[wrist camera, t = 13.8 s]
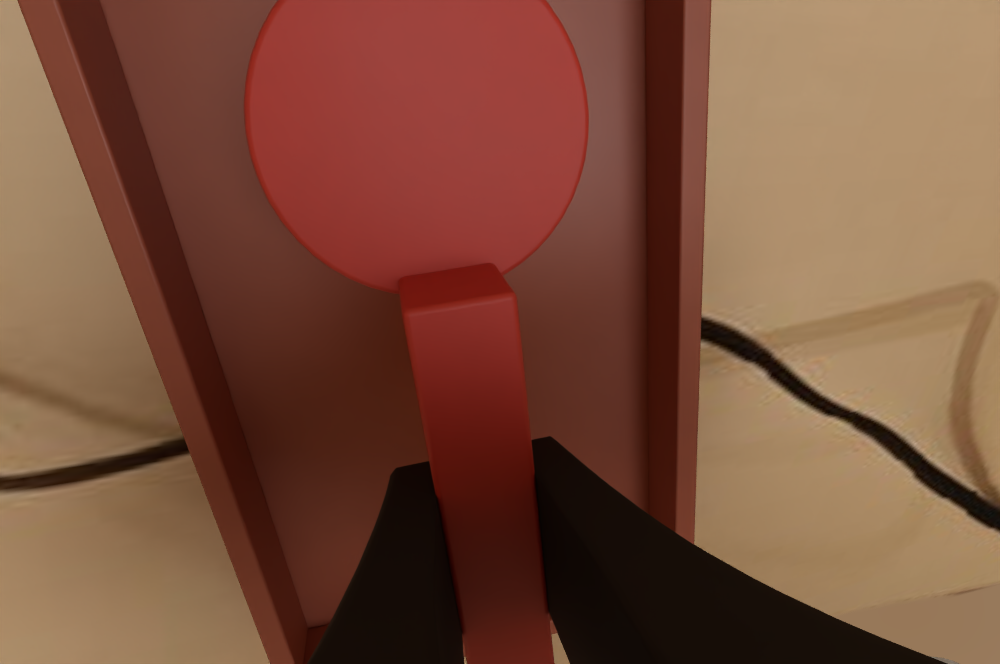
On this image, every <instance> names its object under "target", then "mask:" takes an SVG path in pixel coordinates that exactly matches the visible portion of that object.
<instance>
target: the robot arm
mask: <svg viewBox="0 0 1000 664" xmlns="http://www.w3.org/2000/svg"><path fill="white" fill-rule="evenodd" d="M532 450H533V460H534V470H535V481H536V491H537V501H538V511H539V521H540V530H541V540H542V550H543V560H544V570H545V579H546V589H547V599H548V609H549V613H550V616H551V618H552V621H553V623H554V626H555V628H556V630H557V633H558V635H559V638H560V640H561V643H562V645H563V648H564V650H565V652H566V655H567V657H568V660H569V662H570V664H947V663H944V662H942V661H939V660H937V659H934V658H931V657H929V656H926V655H924V654H921V653H919V652H916V651H914V650H911V649H908V648H906V647H903V646H901V645H898V644H896V643H893V642H891V641H888V640H886V639H883V638H880V637H878V636H876V635H874V634H871V633H869V632H866V631H864V630H862V629H860V628H857V627H855V626H852V625H850V624H848V623H846V622H843V621H841V620H839V619H836V618H834V617H832V616H830V615H828V614H826V613H824V612H821V611H819V610H817V609H815V608H813V607H811V606H809V605H807V604H804V603H802V602H800V601H798V600H796V599H794V598H792V597H790V596H787V595H785V594H783V593H781V592H779V591H777V590H775V589H773V588H771V587H769V586H767V585H765V584H763V583H762V582H760V581H758V580H756V579H754V578H752V577H750V576H748V575H746V574H745V573H743V572H741V571H739V570H738V569H736V568H734V567H732V566H730V565H729V564H727V563H725V562H723V561H722V560H720V559H718V558H716V557H714V556H713V555H711V554H709V553H707V552H706V551H704V550H702V549H701V548H699V547H697V546H696V545H694V544H692V543H691V542H689V541H688V540H686V539H685V538H683V537H682V536H680V535H679V534H677V533H676V532H674V531H673V530H671V529H670V528H668V527H667V526H665V525H664V524H662V523H661V522H659V521H658V520H656V519H655V518H654V517H652V516H651V515H649V514H648V513H646V512H645V511H644V510H642V509H641V508H640V507H638V506H637V505H636V504H634V503H633V502H632V501H630V500H629V499H628V498H626V497H625V496H624V495H622V494H621V493H620V492H618V491H617V490H616V489H614V488H613V487H612V486H610V485H609V484H608V483H607V482H605V481H604V480H603V479H602V478H600V477H599V476H598V475H597V474H596V473H594V472H593V471H592V470H591V469H589V468H588V467H587V466H586V465H585V464H583V463H582V462H581V461H580V460H579V459H578V458H576V457H575V456H574V455H573V454H572V453H571V452H569V451H568V450H567V449H566V448H565V447H564V446H562V445H561V444H560V443H559V442H558V441H557V440H555V439H554V438H552V437H551V436H548V437H543V438H538V439H533V440H532ZM307 664H464V654H463V640H462V631H461V625H460V620H459V615H458V609H457V604H456V599H455V593H454V588H453V583H452V577H451V572H450V567H449V561H448V556H447V551H446V545H445V540H444V534H443V529H442V524H441V518H440V513H439V508H438V502H437V497H436V494H435V489H434V484H433V479H432V473H431V468H430V463H429V461H426V462H422V463H417V464H412V465H407V466H402V467H397V468H395V470H394V471H393V472H392V474H391V475H390V479H389V483H388V487H387V491H386V494H385V497H384V500H383V504H382V506H381V509H380V512H379V515H378V518H377V520H376V523H375V526H374V529H373V531H372V533H371V536H370V538H369V541H368V543H367V545H366V548H365V550H364V552H363V555H362V557H361V560H360V562H359V564H358V567H357V569H356V571H355V573H354V575H353V577H352V579H351V581H350V583H349V585H348V587H347V589H346V591H345V593H344V595H343V598H342V600H341V602H340V604H339V606H338V608H337V610H336V612H335V614H334V616H333V618H332V620H331V621H330V623H329V625H328V627H327V629H326V631H325V632H324V634H323V636H322V638H321V640H320V642H319V643H318V645H317V647H316V649H315V650H314V652H313V654H312V656H311V657H310V659H309V661H308V662H307Z"/></svg>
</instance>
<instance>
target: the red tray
mask: <svg viewBox="0 0 1000 664" xmlns="http://www.w3.org/2000/svg"><path fill="white" fill-rule="evenodd" d="M277 1H278V0H18V3H19V6H20V8H21V11H22V14H23V16H24V19H25V21H26V24H27V27H28V29H29V32H30V35H31V37H32V40H33V42H34V45H35V48H36V50H37V53H38V56H39V58H40V61H41V63H42V66H43V69H44V71H45V74H46V77H47V79H48V82H49V84H50V87H51V90H52V92H53V95H54V98H55V100H56V103H57V105H58V108H59V111H60V113H61V116H62V119H63V121H64V124H65V126H66V129H67V132H68V134H69V137H70V140H71V142H72V145H73V147H74V150H75V153H76V155H77V158H78V161H79V163H80V166H81V168H82V171H83V174H84V176H85V179H86V181H87V184H88V187H89V189H90V192H91V195H92V197H93V200H94V202H95V205H96V208H97V210H98V213H99V216H100V218H101V221H102V223H103V226H104V229H105V231H106V234H107V237H108V239H109V242H110V244H111V247H112V250H113V252H114V255H115V258H116V260H117V263H118V265H119V268H120V271H121V273H122V276H123V279H124V281H125V284H126V286H127V289H128V292H129V294H130V297H131V300H132V302H133V305H134V307H135V310H136V313H137V315H138V318H139V321H140V323H141V326H142V328H143V331H144V334H145V336H146V339H147V342H148V344H149V347H150V349H151V352H152V355H153V357H154V360H155V362H156V365H157V368H158V370H159V373H160V376H161V378H162V381H163V383H164V386H165V389H166V391H167V394H168V397H169V399H170V402H171V404H172V407H173V410H174V412H175V415H176V418H177V420H178V423H179V425H180V428H181V431H182V433H183V436H184V439H185V441H186V444H187V446H188V449H189V452H190V454H191V457H192V460H193V462H194V465H195V467H196V470H197V473H198V475H199V478H200V481H201V483H202V486H203V488H204V491H205V494H206V496H207V499H208V502H209V504H210V507H211V509H212V512H213V515H214V517H215V520H216V523H217V525H218V528H219V530H220V533H221V536H222V538H223V541H224V543H225V546H226V549H227V551H228V554H229V557H230V559H231V562H232V564H233V567H234V570H235V572H236V575H237V578H238V580H239V583H240V585H241V588H242V591H243V593H244V596H245V599H246V601H247V604H248V606H249V609H250V612H251V614H252V617H253V620H254V622H255V625H256V627H257V630H258V633H259V635H260V638H261V641H262V643H263V646H264V648H265V651H266V654H267V656H268V659H269V662H270V664H307V662H308V661H309V659H310V657H311V656H312V654H313V652H314V650H315V649H316V647H317V645H318V643H319V642H320V640H321V638H322V636H323V634H324V632H325V631H326V629H327V627H328V625H329V623H330V621H331V620H332V618H333V616H334V614H335V612H336V610H337V608H338V606H339V604H340V602H341V600H342V598H343V595H344V593H345V591H346V589H347V587H348V585H349V583H350V581H351V579H352V577H353V575H354V573H355V571H356V569H357V567H358V564H359V562H360V560H361V557H362V555H363V552H364V550H365V548H366V545H367V543H368V541H369V538H370V536H371V533H372V531H373V529H374V526H375V523H376V520H377V518H378V515H379V512H380V509H381V506H382V504H383V500H384V497H385V494H386V491H387V487H388V483H389V479H390V475H391V474H392V472H393V471H394V470H395V468H397V467H402V466H407V465H412V464H417V463H422V462H426V461H429V457H428V452H427V447H426V441H425V436H424V431H423V425H422V420H421V415H420V410H419V404H418V399H417V394H416V388H415V383H414V378H413V372H412V367H411V362H410V356H409V351H408V346H407V340H406V335H405V330H404V324H403V319H402V312H401V303H400V294H394V293H388V292H385V291H381V290H378V289H374V288H370V287H368V286H365V285H363V284H360V283H358V282H355V281H353V280H351V279H349V278H347V277H345V276H343V275H342V274H340V273H338V272H336V271H334V270H333V269H331V268H330V267H328V266H327V265H325V264H324V263H323V262H321V261H320V260H319V259H317V258H316V257H315V256H313V255H312V254H311V253H310V252H309V251H308V250H307V249H306V248H305V247H304V246H303V245H301V244H300V243H299V242H298V241H297V240H296V239H295V237H294V236H293V235H292V234H291V233H290V231H289V230H288V229H287V228H286V227H285V225H284V224H283V223H282V222H281V220H280V219H279V217H278V216H277V214H276V212H275V211H274V209H273V208H272V206H271V205H270V203H269V202H268V199H267V197H266V195H265V193H264V191H263V189H262V187H261V185H260V183H259V181H258V178H257V175H256V172H255V169H254V166H253V163H252V160H251V157H250V153H249V148H248V143H247V138H246V133H245V119H244V94H245V81H246V76H247V71H248V66H249V61H250V56H251V53H252V51H253V48H254V45H255V42H256V39H257V36H258V34H259V31H260V29H261V27H262V26H263V24H264V22H265V20H266V18H267V16H268V14H269V12H270V10H271V9H272V7H273V6H274V5H275V3H276V2H277ZM546 1H547V2H548V3H549V5H550V6H551V8H552V9H553V11H554V12H555V14H556V15H557V17H558V18H559V20H560V21H561V23H562V24H563V26H564V28H565V30H566V32H567V34H568V36H569V38H570V40H571V42H572V44H573V46H574V49H575V52H576V55H577V58H578V60H579V63H580V66H581V69H582V74H583V78H584V82H585V87H586V92H587V101H588V111H589V132H588V143H587V151H586V158H585V162H584V166H583V170H582V174H581V178H580V181H579V183H578V186H577V189H576V191H575V194H574V196H573V199H572V201H571V203H570V205H569V206H568V208H567V210H566V212H565V214H564V216H563V218H562V219H561V221H560V222H559V223H558V225H557V226H556V228H555V229H554V231H553V232H552V234H551V235H550V236H549V237H548V238H547V239H546V240H545V242H544V243H543V244H542V245H541V246H540V247H539V248H538V249H537V250H536V251H535V252H534V253H533V254H532V255H531V256H529V257H528V258H527V259H526V260H525V261H524V262H523V263H521V264H520V265H518V266H517V267H515V268H514V269H512V270H511V271H509V272H508V273H506V274H505V275H503V277H504V278H505V280H506V281H507V283H508V284H509V285H510V287H511V288H512V290H513V291H514V293H515V294H516V296H517V303H518V313H519V322H520V332H521V342H522V352H523V362H524V372H525V381H526V391H527V401H528V411H529V421H530V430H531V440H533V439H538V438H543V437H548V436H551V437H552V438H554V439H555V440H557V441H558V442H559V443H560V444H561V445H562V446H564V447H565V448H566V449H567V450H568V451H569V452H571V453H572V454H573V455H574V456H575V457H576V458H578V459H579V460H580V461H581V462H582V463H583V464H585V465H586V466H587V467H588V468H589V469H591V470H592V471H593V472H594V473H596V474H597V475H598V476H599V477H600V478H602V479H603V480H604V481H605V482H607V483H608V484H609V485H610V486H612V487H613V488H614V489H616V490H617V491H618V492H620V493H621V494H622V495H624V496H625V497H626V498H628V499H629V500H630V501H632V502H633V503H634V504H636V505H637V506H638V507H640V508H641V509H642V510H644V511H645V512H646V513H648V514H649V515H651V516H652V517H654V518H655V519H656V520H658V521H659V522H661V523H662V524H664V525H665V526H667V527H668V528H670V529H671V530H673V531H674V532H676V533H677V534H679V535H680V536H682V537H683V538H685V539H686V540H688V541H689V542H691V543H692V544H694V529H695V498H696V466H697V434H698V403H699V371H700V340H701V308H702V276H703V245H704V213H705V182H706V150H707V118H708V87H709V55H710V23H711V0H546ZM549 617H550V627H551V634H555V633H557V630H556V628H555V626H554V623H553V621H552V618H551V616H550V613H549ZM462 640H463V639H462ZM463 654H464V657H465V656H466V655H465V649H464V644H463Z"/></svg>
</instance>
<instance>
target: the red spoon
mask: <svg viewBox="0 0 1000 664" xmlns="http://www.w3.org/2000/svg"><path fill="white" fill-rule="evenodd" d="M244 119H245V133H246V138H247V143H248V148H249V153H250V157H251V160H252V163H253V166H254V169H255V172H256V175H257V178H258V181H259V183H260V185H261V187H262V189H263V191H264V193H265V195H266V197H267V199H268V202H269V203H270V205H271V206H272V208H273V209H274V211H275V212H276V214H277V216H278V217H279V219H280V220H281V222H282V223H283V224H284V225H285V227H286V228H287V229H288V230H289V231H290V233H291V234H292V235H293V236H294V237H295V239H296V240H297V241H298V242H299V243H300V244H301V245H303V246H304V247H305V248H306V249H307V250H308V251H309V252H310V253H311V254H312V255H313V256H315V257H316V258H317V259H319V260H320V261H321V262H323V263H324V264H325V265H327V266H328V267H330V268H331V269H333V270H334V271H336V272H338V273H340V274H342V275H343V276H345V277H347V278H349V279H351V280H353V281H355V282H358V283H360V284H363V285H365V286H368V287H370V288H374V289H378V290H381V291H385V292H388V293H394V294H400V303H401V312H402V319H403V324H404V330H405V335H406V340H407V346H408V351H409V356H410V362H411V367H412V372H413V378H414V383H415V388H416V394H417V399H418V404H419V410H420V415H421V420H422V425H423V431H424V436H425V441H426V447H427V452H428V457H429V463H430V468H431V473H432V479H433V484H434V489H435V494H436V497H437V502H438V508H439V513H440V518H441V524H442V529H443V534H444V540H445V545H446V551H447V556H448V561H449V567H450V572H451V577H452V583H453V588H454V593H455V599H456V604H457V609H458V615H459V620H460V625H461V631H462V639H463V644H464V649H465V655H466V660H467V664H554V656H553V646H552V636H551V627H550V617H549V609H548V599H547V589H546V579H545V570H544V560H543V550H542V540H541V530H540V521H539V511H538V501H537V491H536V481H535V470H534V460H533V450H532V440H531V430H530V421H529V411H528V401H527V391H526V381H525V372H524V362H523V352H522V342H521V332H520V322H519V313H518V303H517V296H516V294H515V293H514V291H513V290H512V288H511V287H510V285H509V284H508V283H507V281H506V280H505V278H504V277H503V275H505V274H506V273H508V272H509V271H511V270H512V269H514V268H515V267H517V266H518V265H520V264H521V263H523V262H524V261H525V260H526V259H527V258H528V257H529V256H531V255H532V254H533V253H534V252H535V251H536V250H537V249H538V248H539V247H540V246H541V245H542V244H543V243H544V242H545V240H546V239H547V238H548V237H549V236H550V235H551V234H552V232H553V231H554V229H555V228H556V226H557V225H558V223H559V222H560V221H561V219H562V218H563V216H564V214H565V212H566V210H567V208H568V206H569V205H570V203H571V201H572V199H573V196H574V194H575V191H576V189H577V186H578V183H579V181H580V178H581V174H582V170H583V166H584V162H585V158H586V151H587V143H588V132H589V111H588V101H587V92H586V87H585V82H584V78H583V74H582V69H581V66H580V63H579V60H578V58H577V55H576V52H575V49H574V46H573V44H572V42H571V40H570V38H569V36H568V34H567V32H566V30H565V28H564V26H563V24H562V23H561V21H560V20H559V18H558V17H557V15H556V14H555V12H554V11H553V9H552V8H551V6H550V5H549V3H548V2H547V1H546V0H278V1H277V2H276V3H275V5H274V6H273V7H272V9H271V10H270V12H269V14H268V16H267V18H266V20H265V22H264V24H263V26H262V27H261V29H260V31H259V34H258V36H257V39H256V42H255V45H254V48H253V51H252V53H251V56H250V61H249V66H248V71H247V76H246V81H245V94H244Z"/></svg>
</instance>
